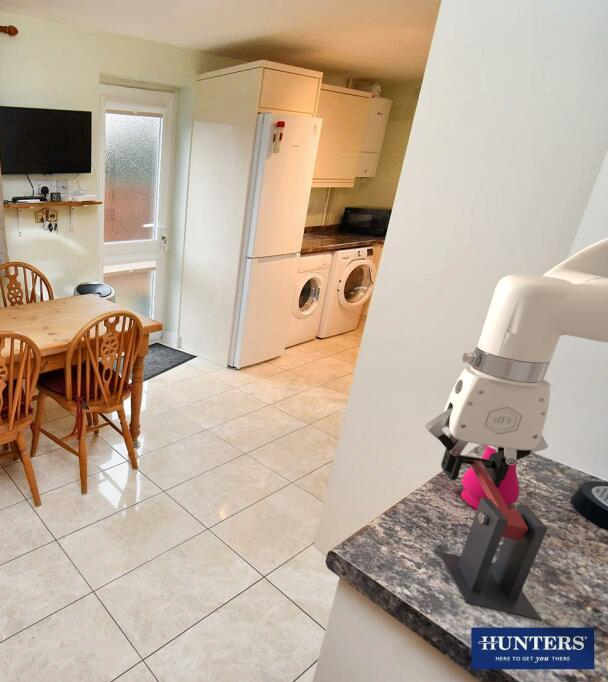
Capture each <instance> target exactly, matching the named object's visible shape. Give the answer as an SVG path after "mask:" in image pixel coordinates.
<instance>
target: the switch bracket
mask: <svg viewBox="0 0 608 682" xmlns="http://www.w3.org/2000/svg"><path fill="white" fill-rule="evenodd" d="M515 510H518V512H519V513H520V515H521V517H522V518H523V520H524V522H525V524H526V525H527V527H528V530H527V531H526V533H525V534H524V535H523V537H522V538H521V540H515V539H510V538H505V537H504V539H503V541H502V544H501V547H500V549H499V552H498V555H497V557H496V560H495V561H494V562H493V560H494V558H495V555H496V553H497V550H498V547H499V544H500V543H501V539H502V538H503V537H502V534H503V532H504V529H505V527H506V524H507V521H508V520H507V519H506V518H505V517H504V515H503V514H502V513H501V512H500V510H499V509H498V508H497V507H496V506H495V504H494V503H493V502H492V501H491V499H488V498H481V500H480V503H479V506H478V509H477V511H476V512H475V515H474V517H473V520H472V523H471V525H470V528H469V531H468V533H467V534H468V535H467V537H466V540H465V543H464V546H463V548H462V551H461V555H458V554H453V553H447V552H443V551H439V550H438V551H437V554H438V556H439V558H440V559H441V561H442V563H443V564H444V566H445V568H446V570H447V572H448V574H449V576H450V577H451V579H452V582H453V583H454V585H455V587H456V589H457V590H458V593H459V594H460V596H461V598H462V600H463V602H464V603H465V604H467V605H471V606H476V607H480V608H485V609H488V610H493V611H497V612H502V613H505V614H509V615H515V616H519V617H523V618H526V619H527V618H528V619H532V620H535V621H540V622H542V621H543V619H542V617H541V616H540V615H539V613H538V612H537V610H536V609H535V607H534V605H533V604H532V603H531V601H530V600H529V599H528V597H527V596H526V594H525V593H524V592H523V588H524V586H525V584H526V581H527V578H528V576H529V574H530V572H531V569H532V567H533V564H534V562H535V559H536V558H537V555H538V552H539V550H540V548H541V545H542V543H543V541H544V539H545V536H546V534H547V532H548V527H547V525H546V524H545V523H544V522H543V521H542V519H540V518H539V517H538V516H537V514H536V513H535V512H534V511H533V510H532V509H531V508H530V506H529V505H526V504H521V503H517V506H516V509H515Z"/></svg>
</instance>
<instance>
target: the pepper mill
mask: <svg viewBox="0 0 608 682" xmlns="http://www.w3.org/2000/svg"><path fill="white" fill-rule="evenodd" d="M485 446H486V447H485V450H484V451H483V455H482V456H481V458H483V459H489V456H490V455H491V454H492V453H496V447H495V446H489V445H485ZM517 464H518V460H516V463H515V464H514V465H509V468H508V471H507V473H506V476H505V479H504V480H502V481H501V484H500V487H499V488H497V490H498V492H499V493H500V495H501V497H502V499H503V501H504V502H505V504H506V506H507V508H508V509H510V507H509V506H511V505H513V504H515V503H516V502H517V501H518V499H519V496H520V484H519V479H518V475H517ZM485 468H486V467H485ZM461 484H462V486H463V488H464V490H462V491H461V493H460V494H461V498H462V499H463V500H464V501H465V502H466V503H467V506H468V507H470V509H473V510H475V511H476V512H477V509H478V506H479V503H480V500H481V498H488V497H487V495H486V493H485V491H484V489H483V488H482V486H481V484H480V482H479V480H478V478H477V476H476V474H475V472H474V470H473V468H472V467H469V468H468V469H467V470H466V471H465V473H464V475H463V477H462V480H461Z"/></svg>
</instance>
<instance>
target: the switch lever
mask: <svg viewBox="0 0 608 682" xmlns="http://www.w3.org/2000/svg"><path fill="white" fill-rule="evenodd" d="M460 455H461V456H462V457H463V462H462V465H463V464H464V465H470V466H471V467H472V468H473V470H474V472H475V474H476V476H477V478H478V480H479V482H480V484H481V486H482V488H483V489H484V491H485V493H486V495H487V497H488V499H491V501H492V502H493V503H494V504H495V506H496V507H497V508H498V509H499V510H500V512H501V513H502V514H503V515H504V517H505V518H506V519H507V520H508V521H507V524H506V527H505V529H504V532H503V534H502V537H501V538H504V539H505V538H510V539H515V540H521V538H522V537H523V535H524V534H525V533H526V531H527V530H528V527H527V525H526V524H525V522H524V520H523V518H522V517H521V515H520V513H519V512H518V510H516V509H510V508H509V509H508V508H507V506H506V504H505V502H504V501H503V499H502V497H501V495H500V493H499V492H498V490H497V488H496V486H495V484H494V483H493V481H492V479H491V477H490V475H489V474H488V472H487V470H486V468H485V467H488V468H494V467H495V461H494V460H490V459H483V458H482V457H478V456H477V457H476V456H470V455H464V454H460ZM471 467H470V468H471Z"/></svg>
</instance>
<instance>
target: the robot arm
mask: <svg viewBox="0 0 608 682" xmlns="http://www.w3.org/2000/svg"><path fill="white" fill-rule="evenodd" d="M561 336H570V337H576V338H581V339H585V340H591V341H595V342H601V343H608V237H606V238H603V239H601V240H599V241H597V242H595V243H592V244H591V245H588V246H586V247H584V248H583V249H581V250H579V251H578V252H576V253H575V254H573V255H571V256H570V257H568V258H567V259H565V260H563V261H561V262H560V263H558V264H557V265H555V266H554V267H552V268H551V269H548V270H547V272H546V271H545V273H544V274H542V275H539V274H525V273H523V274H522V273H521V274H520V273H518V274H517V273H515V274H514V273H513V274H508V275H506V276H503V277H502V278H501V279H500V280H499V281H498V282H497V284H496V286H495V289H494V292H493V296H492V298H491V302H490V305H489V308H488V311H487V315H486V317H485V321H484V324H483V327H482V330H481V334H480V337H479V339H478V343H477V346H476V347H474V350H473V352H470V353H468V352H464V353H463V354H462V357H461V358H462V360H461V361H462V362H463V363H465V364H466V363H467V364H469V365H470V366H466V367H465V368H464V370H463V371H462V372H461V374H460V375H459V377H458V378H457V380H456V382H455V384H454V385H453V388H452V390H451V392H450V395H449V397H448V399H447V401H446V404H445V406H444V410H443V412H441V413H440V414H439V415H437V416H435V417H434V418H432V420H430V421H429V422H427V423H425V426H424V427H425V428H426V430H427V431H428V432H429V433H430V434H431V435H432V436H434V437H435V438H436V439H437V440H438V441H440V443H441V444H442V445H443V446H444V448H445V450H444V453H443V457H442V460H441V464H440V467H441V469H442V471H443V472H444V473H445V475H446V476H447V478H448V479H449V480H450V481H456V480H457V479H458V476H459V474H460V471H461V468H462V465H463V463H462V462H463V457H462V456H461V455H462V453H463V451H464V449H465V448H466V447H467V445H468V444H469V443H470V444H478V445H481V446H483V445H484V446H487V445H489V446H495V447H496V453H492V454H491V455H490V456H489V459H490V460H494V461H495V467H494V468H488V467H486V470H487V472H488V474H489V475H490V477H491V479H492V481H493V483H494V484H495V486H496V488H499V487H500V484H501V481H502V480H504V479H505V476H506V473H507V471H508V468H509V465H514V464H515V463H516V460H517V461H519V460H521V459H524V458H525V457H528V456H530V454H533V453H537V452H540V451H544V450H546V449H547V448H549V445H548V443H547V441H546V440H545V438H544V436H543V432H544V428H545V424H546V420H547V416H548V413H549V408H550V407H549V406H550V397H551V383H550V382H549V381H547V380H545V377H546V374H547V372H548V369H549V366H550V363H551V361H552V358H553V356H554V354H555V351H556V348H557V345H558V342H559V340H560V337H561ZM444 428H448V430H449V434H448V435H447V433H446V432H444V431H443V429H444Z"/></svg>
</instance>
